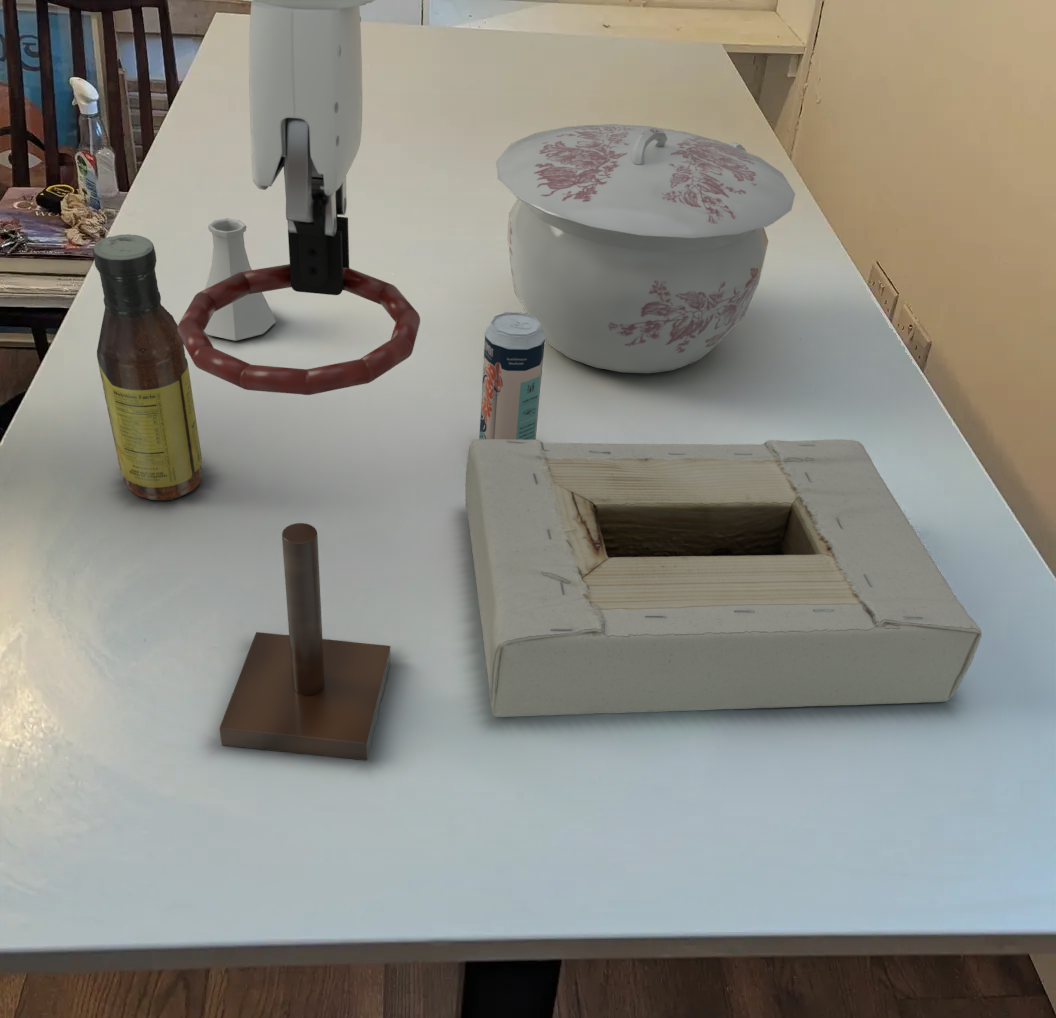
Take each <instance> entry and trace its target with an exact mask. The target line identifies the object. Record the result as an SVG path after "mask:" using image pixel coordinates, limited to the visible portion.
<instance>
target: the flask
mask: <svg viewBox="0 0 1056 1018" xmlns="http://www.w3.org/2000/svg"><path fill="white" fill-rule="evenodd" d="M207 228H208V230H209V232H210V233H211V235H212V245H213V248H212V256H211V257H212V258H211V266H210V269H209V273H208V276H207V277H208V278H207V281H206V284H205V288H204V290H205V289H207V288H209V287H211V286H213V285H215V284H217V283H219V282H221V281H223V280H225V279H227V278H229V277H231V276H233V275H235V274H237V273H239V272H243V271H250V270H253V269H252V267H251V264H250V261H249V257H248V255H247V254H248V253H247V250H246V247H245V237H244V233H245V232H246V231H247V225H246V224H245V223H244V222H242V221H241V220H239V219H234V218H231V217H230V218H229V217H227V218H226V217H225V218H220V219H215V220H214V221H212V222H211V223H209V224H208V225H207ZM276 323H277V320H276V318H275V316H274V314H273V312H272V309H271V308H270V305H269V303H268V301H267V300H266V297H265V295H264V292H260V293H254V294H248V295H246V296H244V297H242V298H240V299H238V300H236V301H234V302H232V303H231V304H229V305H227V306H225V307H223V308H221V309H219V310H217V311H215V312H214V313H213V315H212V317H211V319H210V321H209V322H208V324H207V326H206V328H205V330H204V331H205V333H206V335H207V336H211V337H216V338H222V339H226V340H230V341H235V342H236V341H241V340H244V339H249V338H254V337H256V336H260V335H264V334H265V333H266V332H267V331H268V330H269V329H270V328H271V327H272V326H274V324H276Z"/></svg>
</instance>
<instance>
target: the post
mask: <svg viewBox="0 0 1056 1018" xmlns="http://www.w3.org/2000/svg"><path fill="white" fill-rule="evenodd" d="M318 535H319V534H318V530H317V528H316V527H315V526H313V525H311V524H309V523H306V522H305V523H304V522H296V523H291V524H289V525H287V526H286V527H284V528H283V530H282V532H281V541H282V542H281V543H282V555H283V556H282V557H283V569H284V583H285V584H284V585H285V599H286V611H287V625H288V634H278V633H269V632H260V631H255V634H254V636H253V640H252V642H251V645H250V648H249V650H248V653H247V655H246V657H245V660H244V662H243V665H242V668H241V671H240V672H239V673H240V674H239V675H238V678H237V680H236V683H235V687H234V689H233V692H232V694H231V697H230V699H229V702H228V704H227V707H226V710H225V711H224V712H225V713H224V715H223V716H222V717H223V718H222V720H221V723H220V725H219V728H218V729H219V736H220V737H219V738H220V743H221V746H228V747H237V748H239V747H240V748H246V749H254V750H255V749H257V750H267V751H275V752H285V753H295V754H304V755H315V756H322V757H323V756H324V757H333V758H334V757H335V758H343V759H353V760H362V761H367V760H368V758H369V753H370V749H371V745H372V740H373V735H374V731H375V727H376V723H377V719H378V715H379V711H380V707H381V702H382V699H383V694H384V690H385V687H386V682H387V678H388V674H389V670H390V666H391V645H384V644H378V643H377V644H375V643H365V642H359V641H357V642H356V641H347V640H337V639H327V638H323V622H322V621H323V620H322V618H323V617H322V601H321V599H322V598H321V580H320V579H321V577H320V559H319V558H320V557H319V536H318Z"/></svg>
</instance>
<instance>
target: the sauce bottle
mask: <svg viewBox="0 0 1056 1018" xmlns="http://www.w3.org/2000/svg"><path fill="white" fill-rule="evenodd" d="M92 253H93V260H94V261H93V262H94V267H95V268H96V270H97V271H98V273H99V276H100V283H101V287H102V292H103V304H104V311H103V316H102V317H103V318H102V322H101V327H100V332H99V338H98V342H97V347H96V348H97V349H96V358H97V363H98V368H99V373H100V378H101V383H102V390H103V393H104V399H105V403H106V409H107V413H108V417H109V423H110V424H109V425H110V427H111V432H112V438H113V442H114V443H113V444H114V447H115V453H116V457H117V462H118V467H119V471H120V473H121V475H122V479H123V482H124V483H125V484H126V487H127V488H128V490H130V491H131V493H132V494H134V495H135V496H137V497H141V498H144V499H146V500H150V501H173V500H175V499H179V498H180V497H183V496H185V495H187V494H189V493H191V492H193V491H194V490H196V489H197V488H198V487H199V485H200V483H201V482H202V477H203V476H202V474H203V471H202V470H203V468H202V462H203V454H202V449H201V443H200V436H199V430H198V423H197V417H196V408H195V402H194V396H193V389H192V382H191V376H190V369H189V362H188V359H187V357H186V351H185V346H184V344H183V342H182V340H181V338H180V336H179V334H178V325H179V324H178V323H177V322H176V320H175V318H174V316H173V315H172V314H171V313H170V312H169V311H168V310H167V309H166V308H165V307H164V306H163V305H162V303H161V301H162V296H161V292H160V291H159V286H158V279H157V274H156V265H157V253H156V250H155V245H154V243H153V242H152V241H151V240H150V238H147V237H145V236H141V235H138V234H130V233H127V234H116V235H112V236H107V237H104V238H101V239H99V240H98V241H96V243H95V244H94V246H93V248H92Z"/></svg>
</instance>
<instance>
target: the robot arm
mask: <svg viewBox="0 0 1056 1018" xmlns="http://www.w3.org/2000/svg"><path fill="white" fill-rule="evenodd" d="M375 1H376V0H251V1H250V2H251V3H250V15H249V32H248V33H249V34H248V35H249V36H248V89H249V90H248V93H249V118H250V119H249V125H250V126H249V127H250V153H251V155H250V156H251V157H250V158H251V176H252V182H253V183H254V185H255V186H256V187H257V188H258V189H259V190H262V191H266V190H267V189H268V188H269V187H272V186H273V184H274V182H275V181H276V179H277V178H278V176H279V175H280V173H281V171H282V170H283V178H284V189H285V190H284V191H285V218H286V221H287V240H288V254H289V256H288V257H289V258H288V259H289V264H290V276H291V287H290V288H291V289H292V290H293V291H294V292H298V293H308V294H319V295H328V296H330V295H331V296H339V295H341V294H342V292H343V291H344V290H343V268H350V239H349V217H347V216H346V213H347V206H348V205H347V203H348V202H347V199H348V198H347V175H348V173H349V171H350V169H351V167H352V165H353V163H354V161H355V160H356V157H357V155H358V152H359V149H360V146H361V140H362V133H363V132H362V131H363V130H362V129H363V60H362V59H363V58H362V57H363V55H362V31H361V30H362V29H361V23H362V17H361V11H360V8H361V7H362V6H365V5H367V4H371V3H373V2H375ZM343 216H344V217H343ZM345 216H346V217H345Z"/></svg>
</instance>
